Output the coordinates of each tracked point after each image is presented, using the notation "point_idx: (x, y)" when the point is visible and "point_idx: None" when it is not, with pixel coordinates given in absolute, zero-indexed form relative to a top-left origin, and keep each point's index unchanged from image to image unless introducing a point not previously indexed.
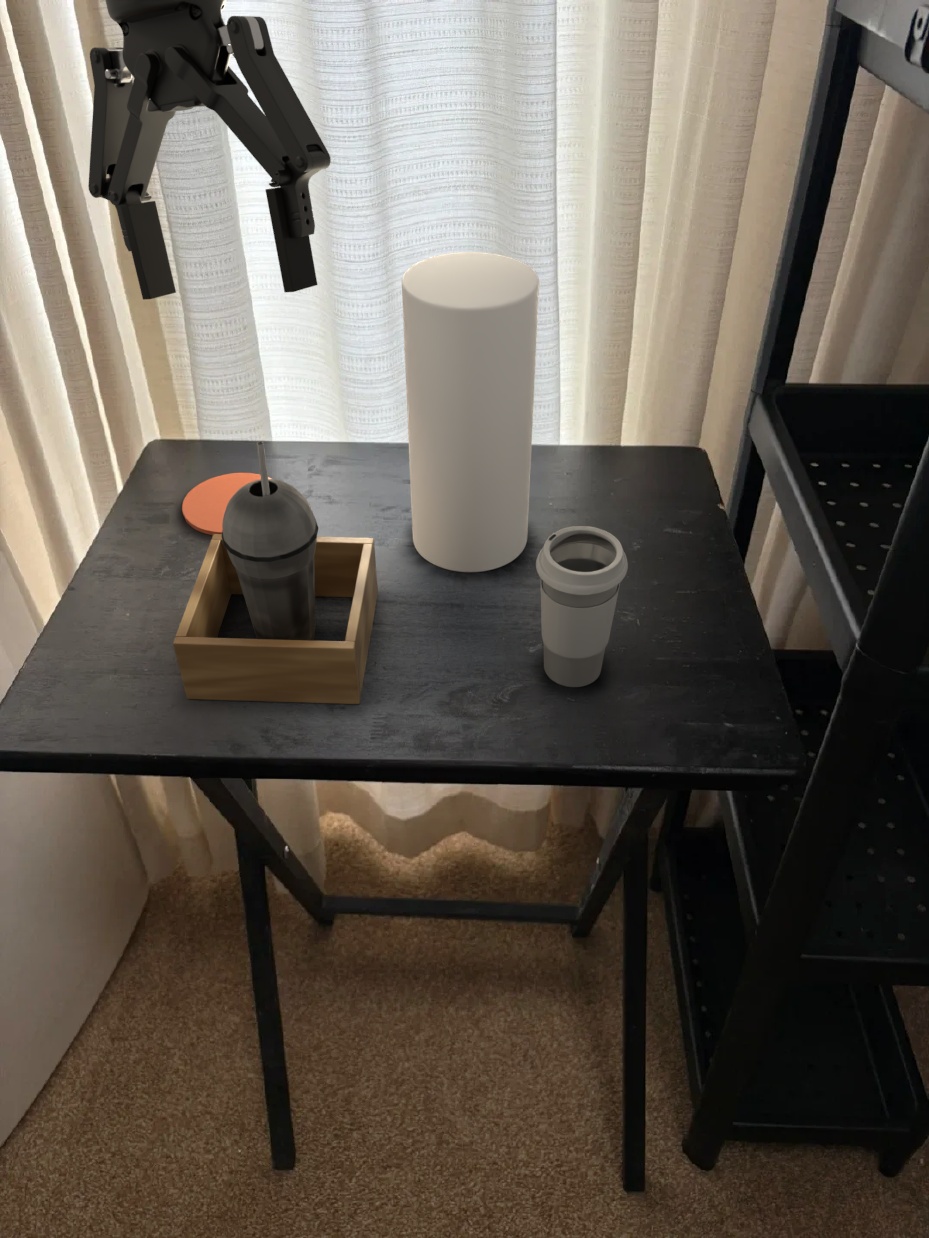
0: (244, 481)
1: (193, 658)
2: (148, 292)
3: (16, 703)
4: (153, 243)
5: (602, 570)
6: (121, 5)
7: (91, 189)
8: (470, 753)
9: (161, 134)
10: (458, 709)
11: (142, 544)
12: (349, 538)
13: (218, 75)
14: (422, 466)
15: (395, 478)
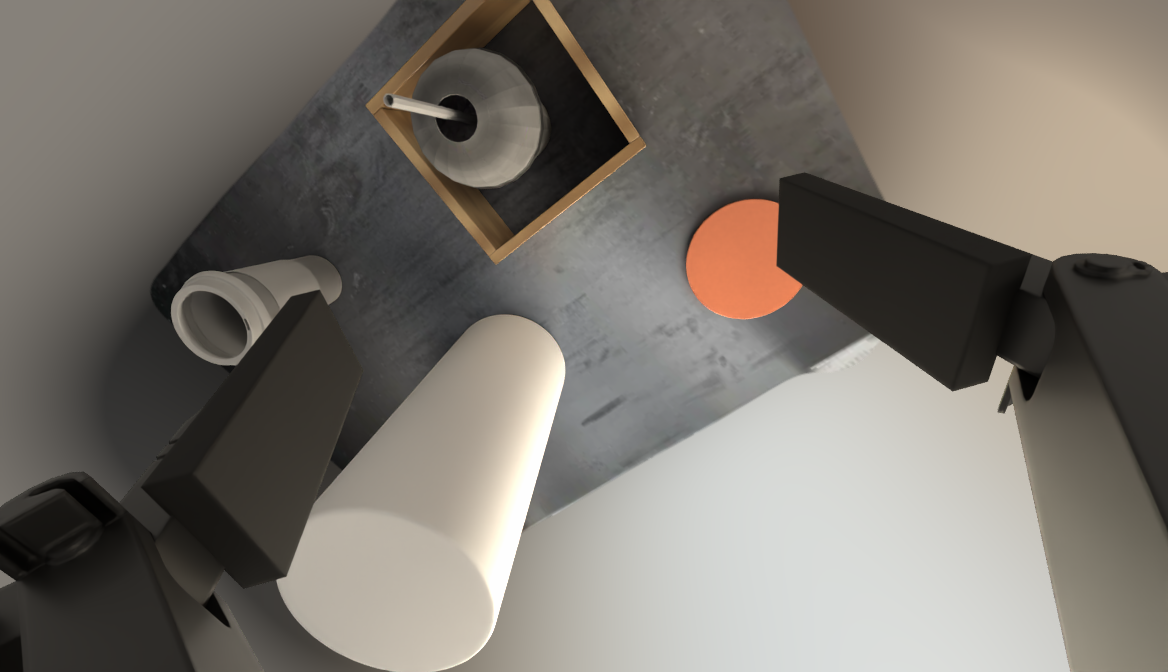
0: (766, 296)
1: None
2: (789, 182)
3: None
4: (862, 282)
5: (175, 310)
6: None
7: None
8: (292, 134)
9: (1078, 648)
10: (340, 171)
11: (789, 135)
12: (513, 246)
13: None
14: (483, 362)
15: (634, 397)
